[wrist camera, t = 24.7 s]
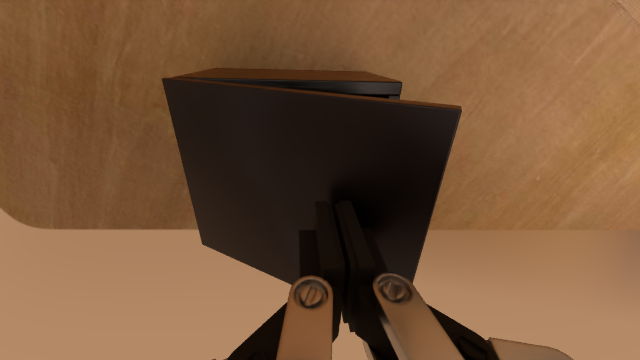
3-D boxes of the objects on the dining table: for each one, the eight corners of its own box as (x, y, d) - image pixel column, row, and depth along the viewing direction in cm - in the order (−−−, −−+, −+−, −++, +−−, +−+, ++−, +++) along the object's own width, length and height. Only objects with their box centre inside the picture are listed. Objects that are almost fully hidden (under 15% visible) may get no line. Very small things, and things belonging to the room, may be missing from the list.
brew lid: (461, 105, 8) (462, 109, 8) (401, 320, 14) (398, 333, 13) (174, 77, 14) (161, 78, 13) (210, 238, 19) (201, 244, 19)
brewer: (366, 71, 23) (403, 81, 15) (354, 181, 28) (377, 230, 21) (215, 67, 22) (171, 76, 14) (232, 184, 27) (208, 237, 19)
